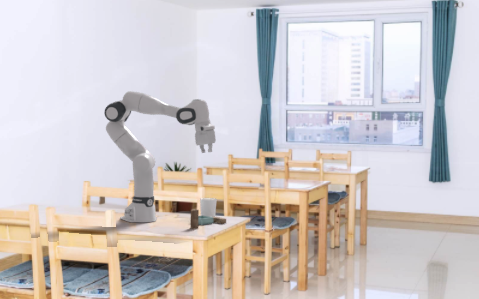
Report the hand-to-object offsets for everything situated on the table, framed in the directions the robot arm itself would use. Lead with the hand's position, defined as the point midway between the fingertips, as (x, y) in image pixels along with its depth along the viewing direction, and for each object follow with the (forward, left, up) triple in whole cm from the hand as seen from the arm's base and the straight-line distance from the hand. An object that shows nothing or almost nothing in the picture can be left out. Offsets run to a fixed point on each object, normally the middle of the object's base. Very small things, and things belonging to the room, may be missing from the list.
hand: (206, 152), depth 334 cm
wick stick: (+4, -12, -41) cm, 43 cm away
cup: (-5, +2, -41) cm, 41 cm away
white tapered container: (-14, +15, -41) cm, 45 cm away
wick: (-1, +11, -41) cm, 42 cm away
